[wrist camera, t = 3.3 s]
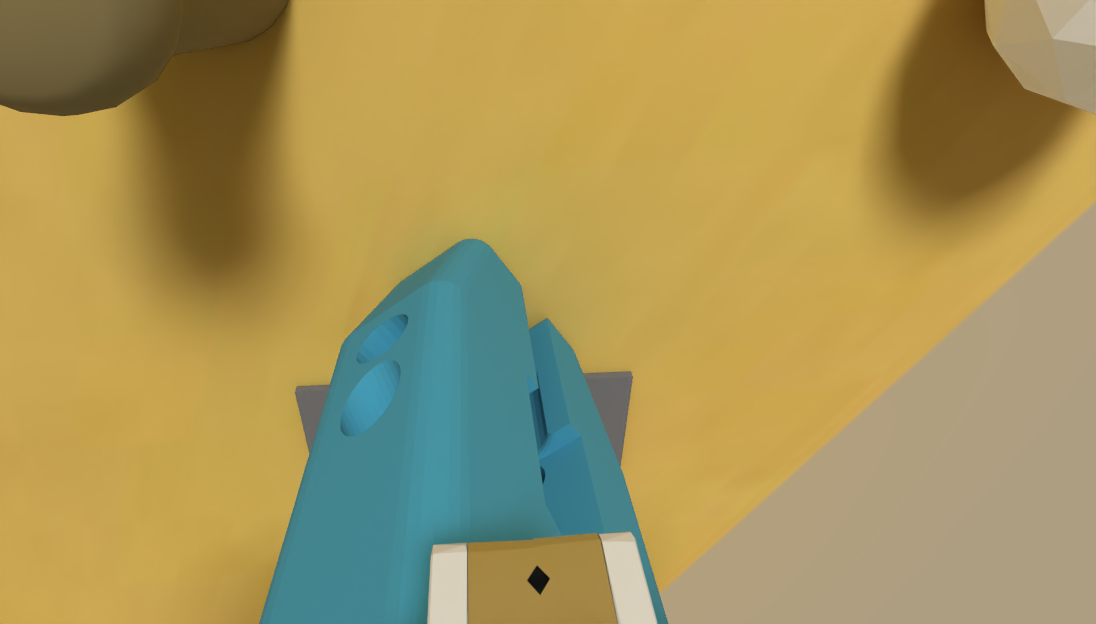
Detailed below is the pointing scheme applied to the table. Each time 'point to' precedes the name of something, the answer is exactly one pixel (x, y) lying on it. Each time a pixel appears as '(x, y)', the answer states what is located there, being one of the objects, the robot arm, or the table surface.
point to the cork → (109, 46)
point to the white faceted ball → (1048, 46)
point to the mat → (604, 387)
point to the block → (444, 448)
